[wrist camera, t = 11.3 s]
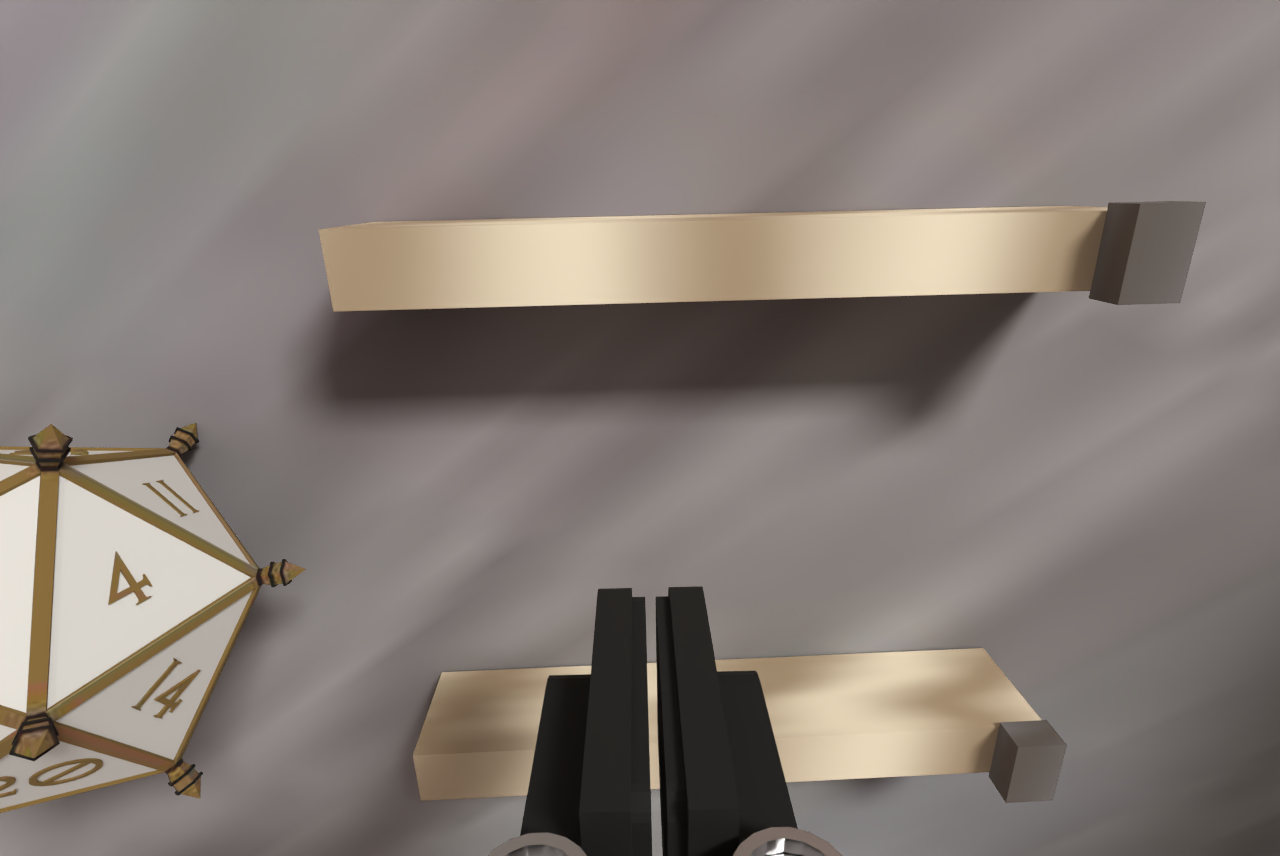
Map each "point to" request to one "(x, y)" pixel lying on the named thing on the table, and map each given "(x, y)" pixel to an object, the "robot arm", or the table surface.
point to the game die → (111, 614)
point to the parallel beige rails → (761, 270)
